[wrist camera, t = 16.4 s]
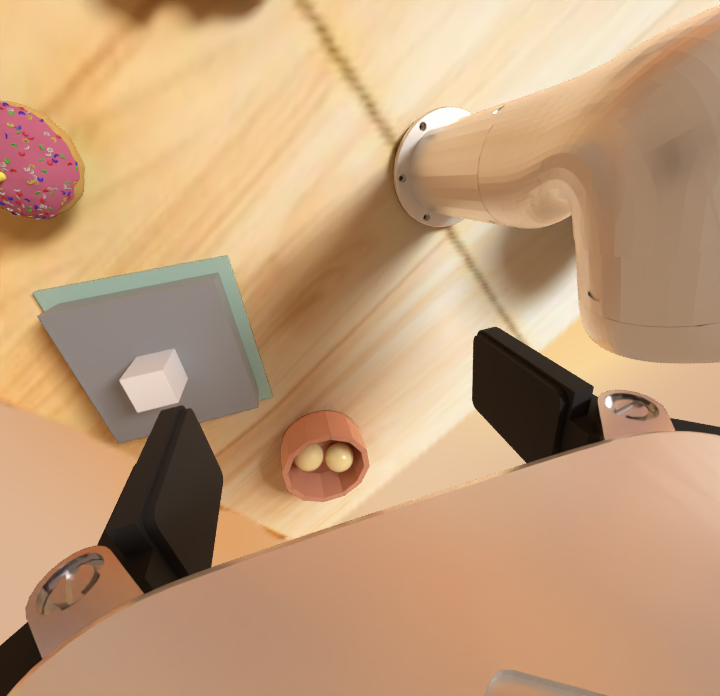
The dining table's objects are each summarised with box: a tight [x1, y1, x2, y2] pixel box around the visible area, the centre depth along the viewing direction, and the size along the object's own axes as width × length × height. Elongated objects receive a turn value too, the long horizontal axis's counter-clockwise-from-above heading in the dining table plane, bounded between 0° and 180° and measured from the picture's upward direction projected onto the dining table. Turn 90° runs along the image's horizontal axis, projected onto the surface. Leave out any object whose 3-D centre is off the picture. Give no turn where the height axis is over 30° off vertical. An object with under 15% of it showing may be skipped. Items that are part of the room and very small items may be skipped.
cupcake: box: [0, 101, 84, 220], centre depth 27 cm, size 9×8×12 cm
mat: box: [33, 255, 272, 401], centre depth 42 cm, size 20×20×1 cm
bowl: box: [280, 411, 369, 502], centre depth 52 cm, size 12×12×6 cm
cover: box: [37, 272, 259, 444], centre depth 38 cm, size 17×17×9 cm
